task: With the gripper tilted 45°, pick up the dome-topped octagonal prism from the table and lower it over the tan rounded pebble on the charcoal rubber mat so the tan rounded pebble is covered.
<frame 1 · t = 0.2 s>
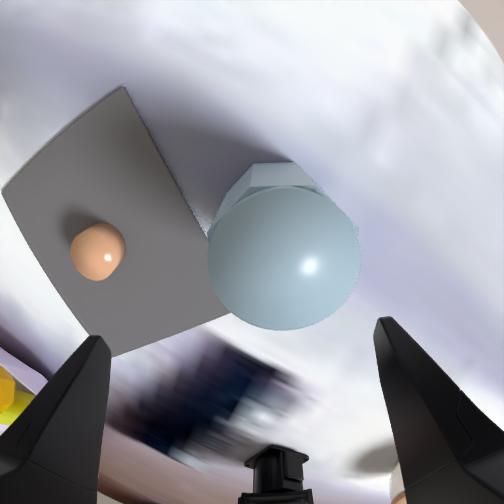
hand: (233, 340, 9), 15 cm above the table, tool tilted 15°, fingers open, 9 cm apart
fruit bowl: (28, 393, 34), on the table
placemat: (106, 243, 25), on the table
dome-topped octagonal prism: (275, 209, 24), on the table
tan rounded pebble: (104, 245, 24), resting on placemat
lidded jar: (413, 458, 38), on the table
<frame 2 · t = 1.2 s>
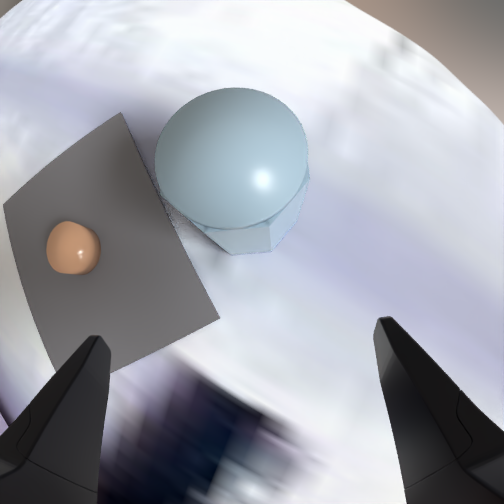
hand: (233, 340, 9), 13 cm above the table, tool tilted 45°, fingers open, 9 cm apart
placemat: (84, 251, 24), on the table
dome-topped octagonal prism: (247, 206, 24), on the table
tan rounded pebble: (81, 250, 24), resting on placemat
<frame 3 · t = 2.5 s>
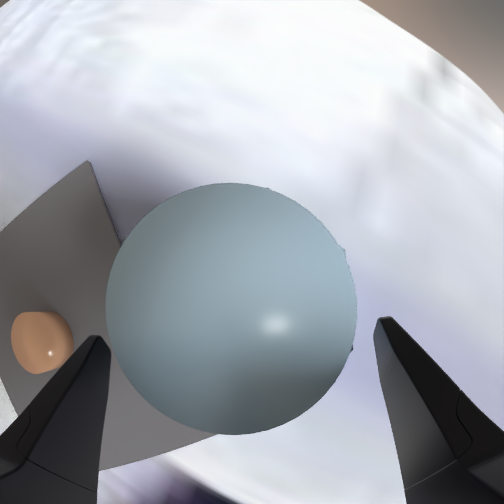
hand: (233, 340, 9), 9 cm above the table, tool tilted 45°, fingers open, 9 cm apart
placemat: (55, 339, 19), on the table
dome-topped octagonal prism: (251, 302, 18), on the table
tan rounded pebble: (52, 339, 18), resting on placemat
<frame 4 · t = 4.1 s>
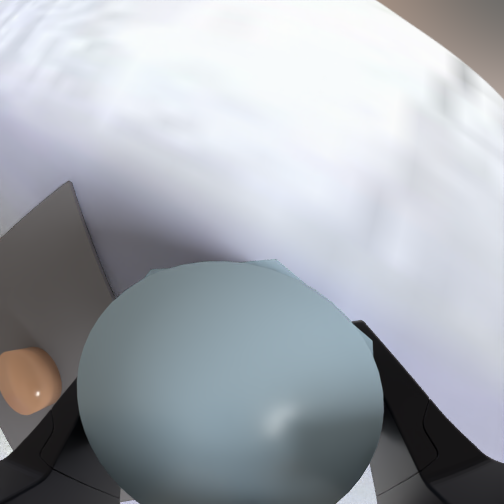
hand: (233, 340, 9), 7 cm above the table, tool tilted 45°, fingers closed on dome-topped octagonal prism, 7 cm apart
placemat: (43, 375, 16), on the table
dome-topped octagonal prism: (252, 346, 16), on the table, touching gripper
tan rounded pebble: (39, 376, 16), resting on placemat
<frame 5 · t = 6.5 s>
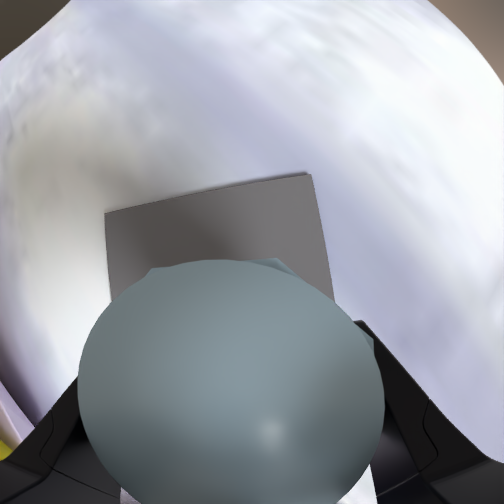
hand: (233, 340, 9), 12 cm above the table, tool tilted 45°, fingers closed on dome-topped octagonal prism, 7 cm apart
fruit bowl: (0, 441, 22), on the table
placemat: (221, 331, 22), on the table
dome-topped octagonal prism: (252, 346, 16), point 6 cm above the table, touching gripper
when the fingers open (8 cm above the table, at t = 9.0 s): dome-topped octagonal prism drops 1 cm, resting on placemat.
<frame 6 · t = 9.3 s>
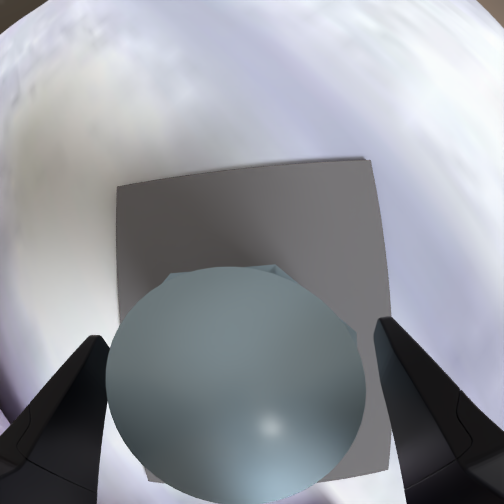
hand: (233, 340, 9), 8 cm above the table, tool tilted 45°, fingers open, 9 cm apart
placemat: (254, 341, 18), on the table
dome-topped octagonal prism: (253, 342, 17), resting on placemat
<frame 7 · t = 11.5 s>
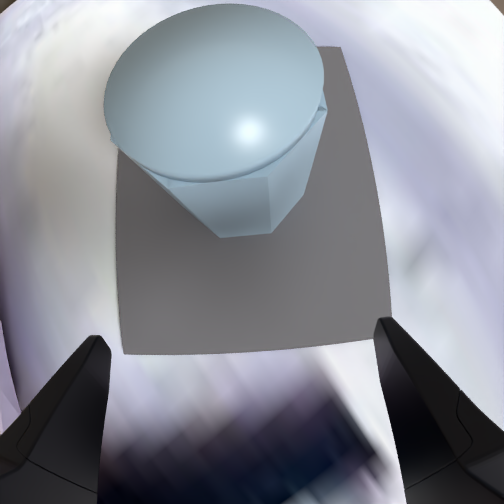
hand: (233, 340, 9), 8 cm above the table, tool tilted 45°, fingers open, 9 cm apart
placemat: (241, 179, 19), on the table
dome-topped octagonal prism: (240, 176, 18), resting on placemat
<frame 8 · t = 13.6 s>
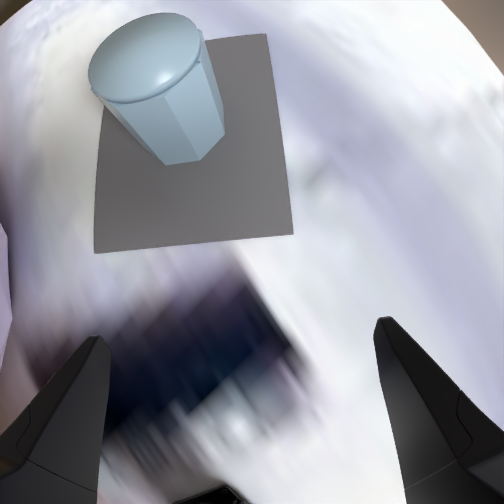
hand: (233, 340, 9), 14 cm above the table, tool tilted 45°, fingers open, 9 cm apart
placemat: (183, 127, 25), on the table
dome-topped octagonal prism: (182, 125, 25), resting on placemat
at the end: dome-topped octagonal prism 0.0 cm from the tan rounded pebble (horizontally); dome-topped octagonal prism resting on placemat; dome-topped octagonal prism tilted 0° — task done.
